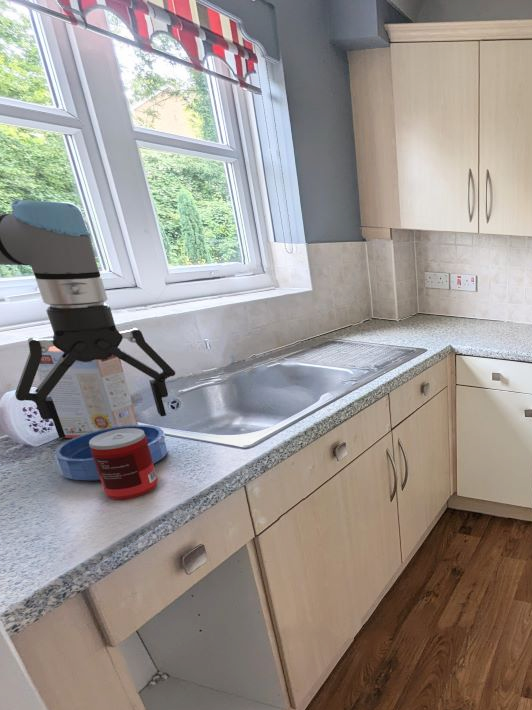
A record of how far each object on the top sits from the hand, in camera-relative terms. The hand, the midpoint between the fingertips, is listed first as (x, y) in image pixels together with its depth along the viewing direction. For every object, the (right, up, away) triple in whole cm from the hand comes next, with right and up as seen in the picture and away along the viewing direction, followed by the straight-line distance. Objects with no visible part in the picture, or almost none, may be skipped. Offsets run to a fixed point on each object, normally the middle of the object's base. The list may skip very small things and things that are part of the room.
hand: (114, 424), depth 81 cm
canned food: (-1, -13, +5) cm, 14 cm away
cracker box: (-26, -4, +25) cm, 36 cm away
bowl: (-12, -9, +13) cm, 20 cm away
